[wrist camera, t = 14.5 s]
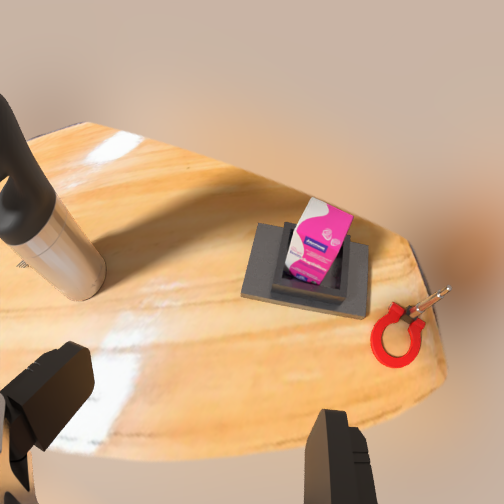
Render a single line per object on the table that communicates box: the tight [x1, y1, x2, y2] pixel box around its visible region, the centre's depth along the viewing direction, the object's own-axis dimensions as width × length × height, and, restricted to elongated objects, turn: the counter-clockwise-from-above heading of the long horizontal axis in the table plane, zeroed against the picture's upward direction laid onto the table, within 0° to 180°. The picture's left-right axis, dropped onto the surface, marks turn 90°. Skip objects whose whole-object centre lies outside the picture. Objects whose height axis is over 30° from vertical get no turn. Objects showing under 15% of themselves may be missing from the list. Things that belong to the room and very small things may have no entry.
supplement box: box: [283, 197, 354, 286], centre depth 39 cm, size 6×6×12 cm
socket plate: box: [241, 222, 368, 320], centre depth 43 cm, size 18×12×4 cm, turn 78°
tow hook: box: [370, 285, 452, 368], centre depth 34 cm, size 8×13×9 cm
